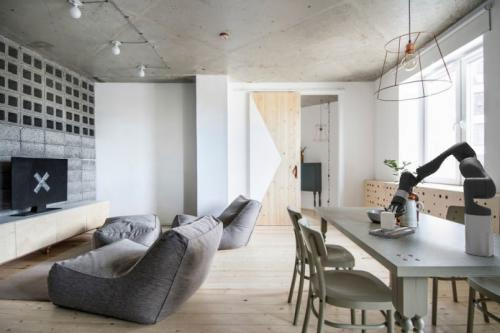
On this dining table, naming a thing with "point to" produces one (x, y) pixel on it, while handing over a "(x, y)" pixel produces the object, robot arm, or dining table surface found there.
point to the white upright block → (387, 221)
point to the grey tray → (392, 232)
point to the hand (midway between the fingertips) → (389, 222)
